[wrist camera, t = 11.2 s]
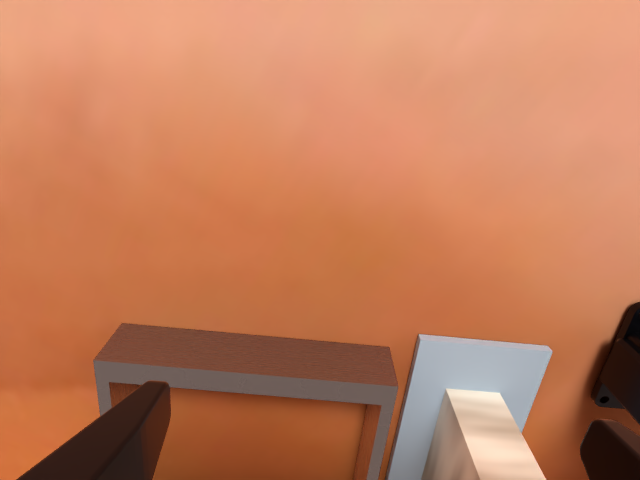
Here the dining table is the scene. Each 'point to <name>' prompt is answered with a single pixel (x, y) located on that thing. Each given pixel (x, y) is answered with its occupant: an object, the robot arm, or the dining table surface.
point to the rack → (255, 373)
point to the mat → (465, 374)
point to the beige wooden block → (478, 441)
